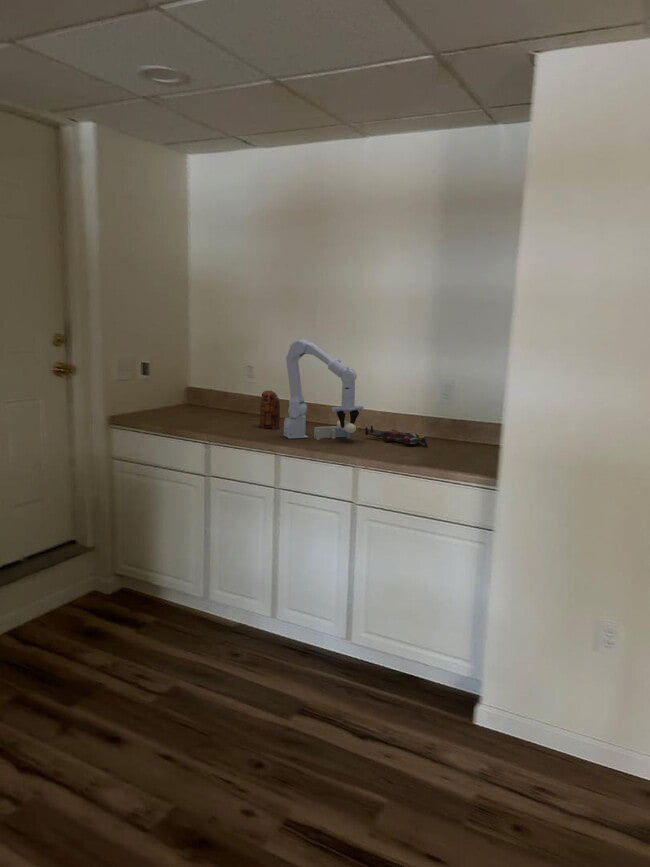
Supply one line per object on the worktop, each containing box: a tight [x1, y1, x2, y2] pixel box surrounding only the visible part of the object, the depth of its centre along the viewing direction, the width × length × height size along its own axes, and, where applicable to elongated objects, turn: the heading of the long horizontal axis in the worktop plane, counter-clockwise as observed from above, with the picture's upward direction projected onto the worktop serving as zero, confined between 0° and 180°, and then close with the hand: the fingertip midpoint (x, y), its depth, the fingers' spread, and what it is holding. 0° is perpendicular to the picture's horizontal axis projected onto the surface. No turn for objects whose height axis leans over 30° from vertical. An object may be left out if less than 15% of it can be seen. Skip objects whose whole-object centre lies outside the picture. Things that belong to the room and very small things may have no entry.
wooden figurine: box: [259, 389, 281, 430], centre depth 317 cm, size 12×6×18 cm, turn 59°
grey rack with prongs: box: [313, 425, 351, 441], centre depth 298 cm, size 16×4×5 cm, turn 112°
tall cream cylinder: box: [336, 420, 357, 434], centre depth 292 cm, size 12×4×4 cm, turn 22°
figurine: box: [364, 425, 429, 448], centre depth 294 cm, size 13×6×30 cm
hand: (347, 427), depth 292 cm, fingers closed on tall cream cylinder, 4 cm apart
